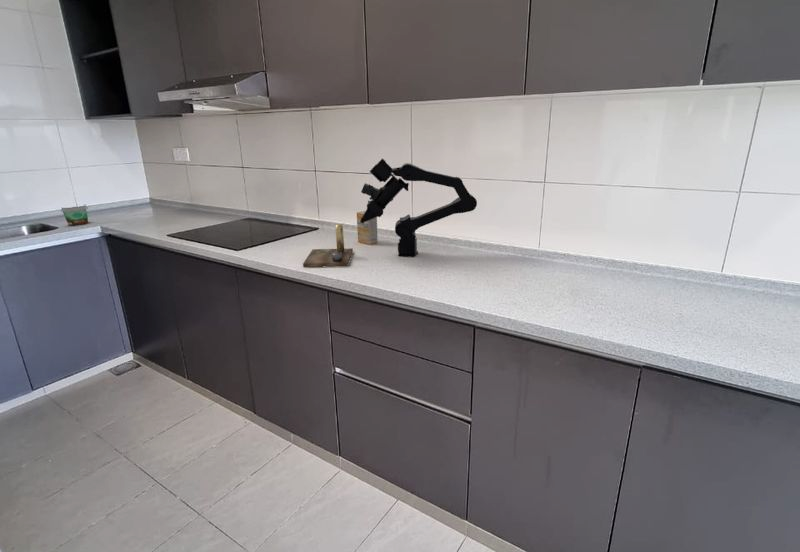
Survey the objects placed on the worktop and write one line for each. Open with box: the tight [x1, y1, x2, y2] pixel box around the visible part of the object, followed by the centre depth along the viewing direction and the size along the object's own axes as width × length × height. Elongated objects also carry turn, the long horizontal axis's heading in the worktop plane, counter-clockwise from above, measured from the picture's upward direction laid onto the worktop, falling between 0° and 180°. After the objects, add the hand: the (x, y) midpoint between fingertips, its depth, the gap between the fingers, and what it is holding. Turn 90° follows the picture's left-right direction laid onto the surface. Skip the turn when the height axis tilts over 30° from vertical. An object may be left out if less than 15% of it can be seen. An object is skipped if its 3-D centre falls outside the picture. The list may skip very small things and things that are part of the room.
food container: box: [60, 204, 89, 227], centre depth 238 cm, size 12×6×10 cm, turn 148°
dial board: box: [302, 247, 354, 268], centre depth 165 cm, size 16×19×2 cm
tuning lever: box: [332, 223, 345, 261], centre depth 163 cm, size 4×17×10 cm, turn 1°
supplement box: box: [356, 210, 379, 245], centre depth 186 cm, size 8×5×13 cm, turn 45°
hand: (361, 221), depth 165 cm, fingers open, 4 cm apart
